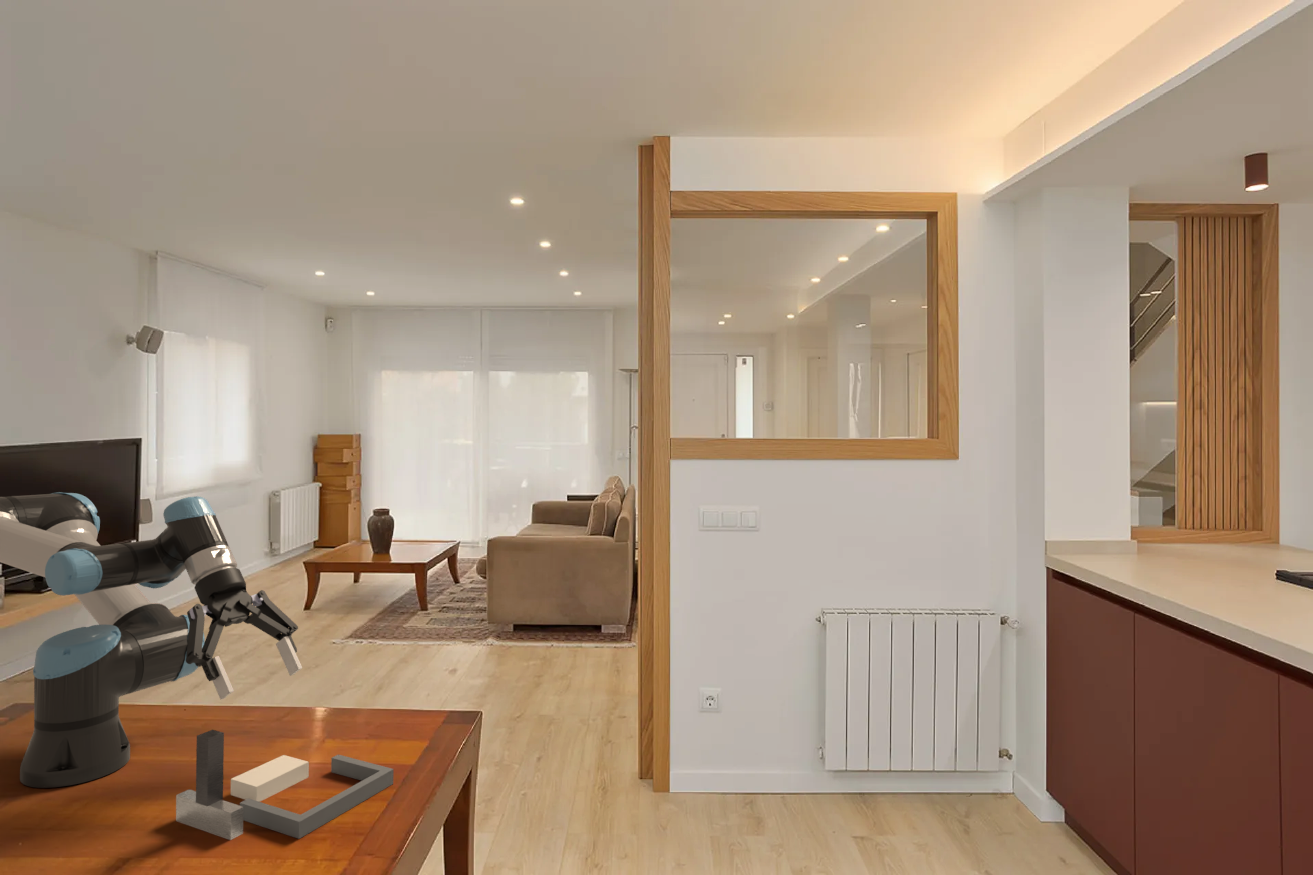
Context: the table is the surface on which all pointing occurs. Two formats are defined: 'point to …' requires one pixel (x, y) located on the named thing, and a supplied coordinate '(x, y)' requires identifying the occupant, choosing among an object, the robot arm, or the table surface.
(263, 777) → the cream tile
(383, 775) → the frame
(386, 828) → the table surface
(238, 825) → the grey inverted t block
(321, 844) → the table surface
